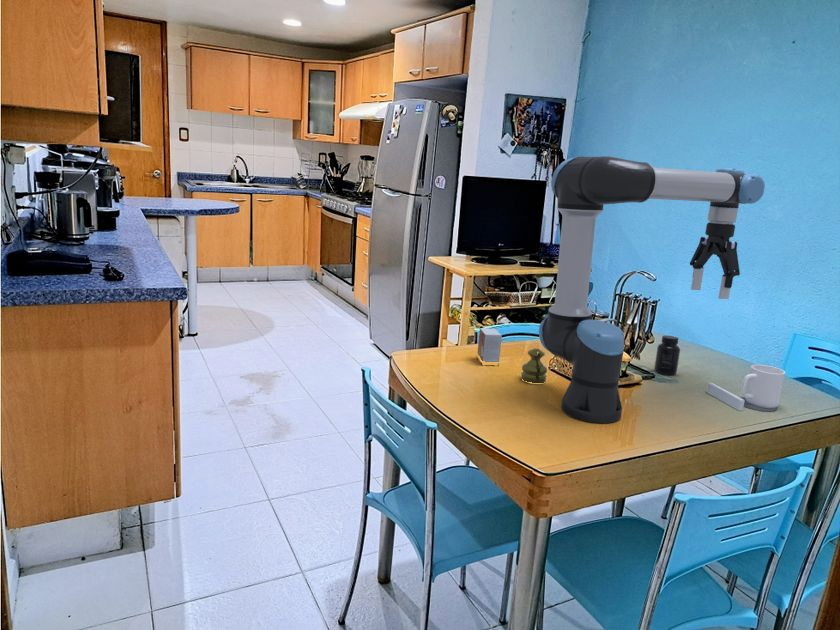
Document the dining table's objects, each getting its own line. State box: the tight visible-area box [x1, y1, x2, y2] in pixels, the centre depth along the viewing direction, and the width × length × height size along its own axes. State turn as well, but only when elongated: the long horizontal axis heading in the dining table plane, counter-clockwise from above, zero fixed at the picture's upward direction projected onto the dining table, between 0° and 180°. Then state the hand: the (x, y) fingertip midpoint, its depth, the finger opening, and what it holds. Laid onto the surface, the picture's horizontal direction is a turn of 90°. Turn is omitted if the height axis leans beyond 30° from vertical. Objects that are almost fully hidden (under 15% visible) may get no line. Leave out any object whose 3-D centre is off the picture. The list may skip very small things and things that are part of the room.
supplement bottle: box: [653, 335, 681, 377], centre depth 189 cm, size 7×7×12 cm
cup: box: [740, 364, 786, 408], centre depth 164 cm, size 8×12×10 cm
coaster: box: [739, 396, 778, 413], centre depth 166 cm, size 10×10×1 cm
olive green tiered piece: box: [520, 348, 548, 384], centre depth 174 cm, size 7×7×10 cm
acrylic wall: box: [706, 382, 745, 412], centre depth 167 cm, size 1×14×3 cm, turn 10°
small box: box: [477, 327, 503, 363], centre depth 189 cm, size 8×6×10 cm
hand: (708, 294), depth 176 cm, fingers open, 13 cm apart
